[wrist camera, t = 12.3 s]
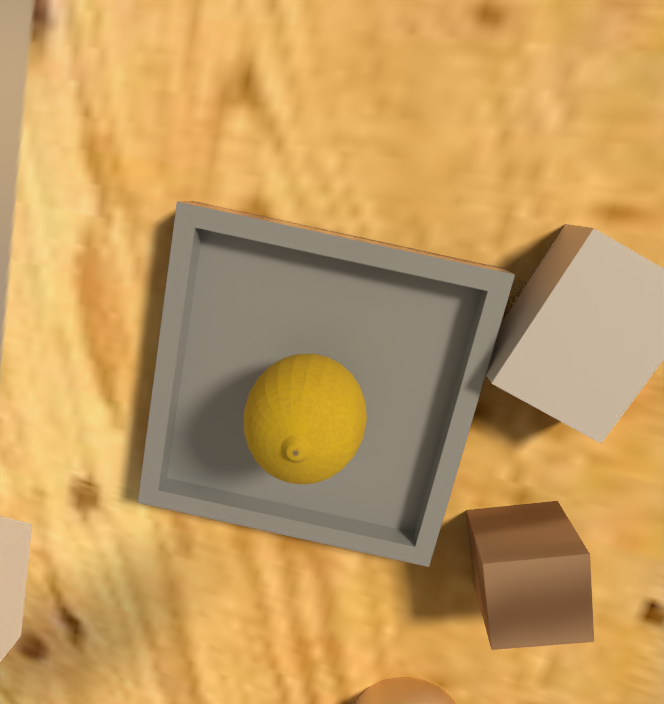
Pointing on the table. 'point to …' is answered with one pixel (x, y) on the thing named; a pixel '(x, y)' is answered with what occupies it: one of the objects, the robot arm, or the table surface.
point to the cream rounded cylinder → (404, 692)
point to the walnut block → (531, 576)
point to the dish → (327, 340)
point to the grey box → (583, 332)
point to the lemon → (305, 418)
